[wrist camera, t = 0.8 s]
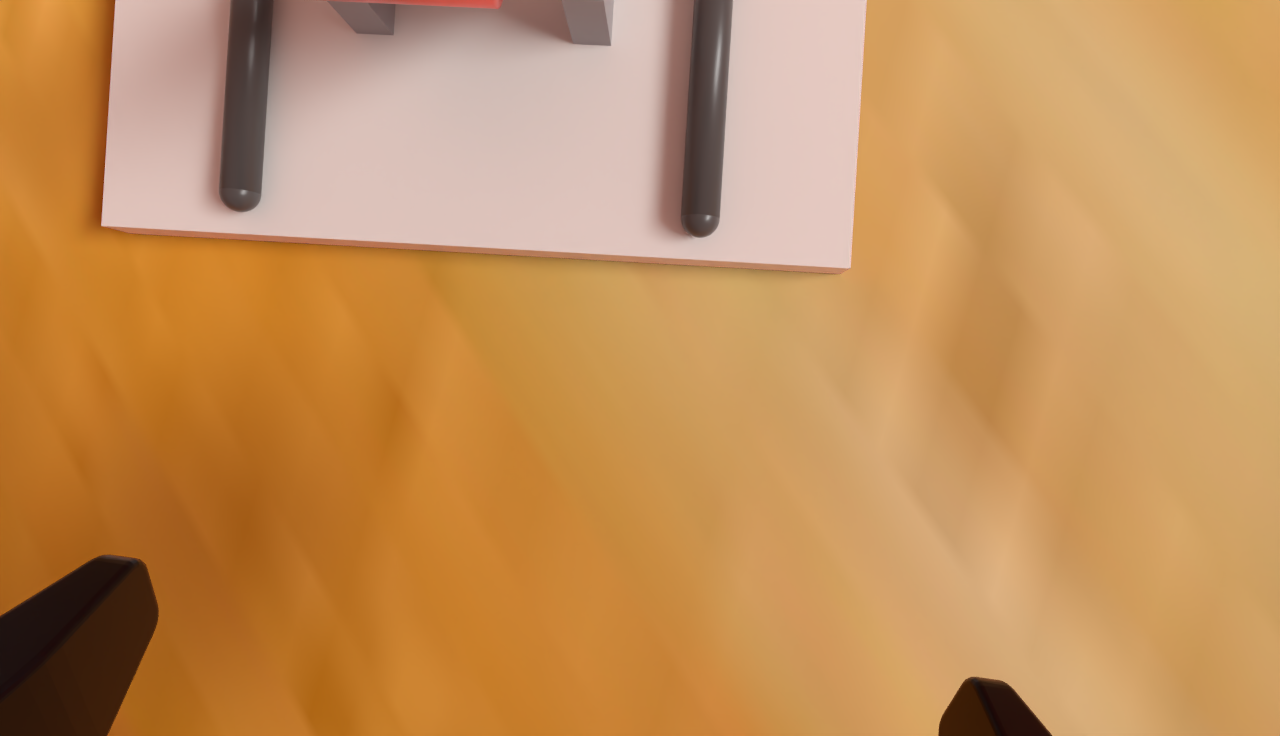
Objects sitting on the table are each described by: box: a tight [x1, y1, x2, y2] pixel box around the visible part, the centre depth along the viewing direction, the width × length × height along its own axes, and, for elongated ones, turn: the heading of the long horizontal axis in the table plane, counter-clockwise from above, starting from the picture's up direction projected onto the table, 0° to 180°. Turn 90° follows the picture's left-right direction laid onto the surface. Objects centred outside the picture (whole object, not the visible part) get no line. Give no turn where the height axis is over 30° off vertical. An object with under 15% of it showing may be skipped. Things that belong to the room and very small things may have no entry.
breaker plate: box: [101, 0, 867, 274], centre depth 21 cm, size 12×20×4 cm, turn 87°
